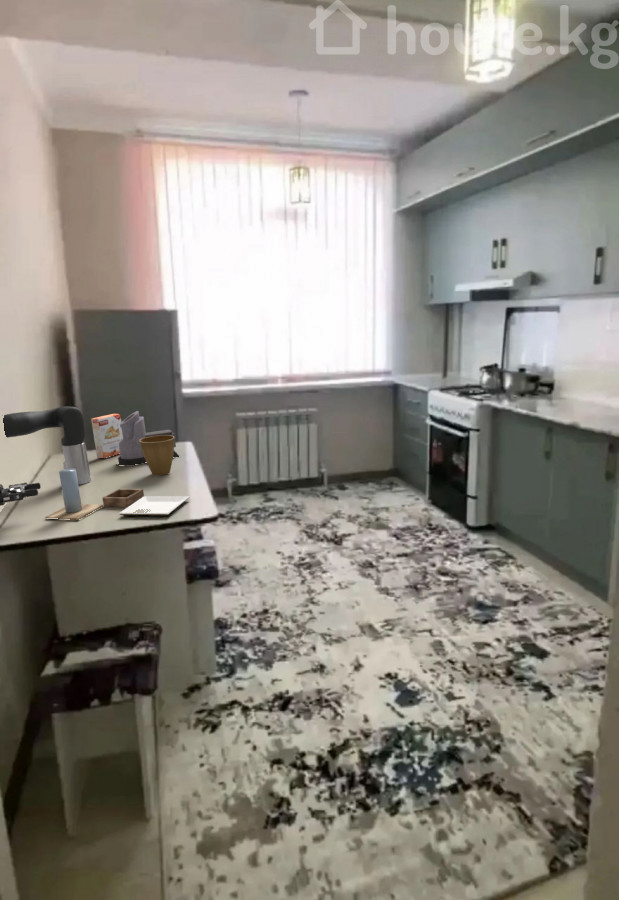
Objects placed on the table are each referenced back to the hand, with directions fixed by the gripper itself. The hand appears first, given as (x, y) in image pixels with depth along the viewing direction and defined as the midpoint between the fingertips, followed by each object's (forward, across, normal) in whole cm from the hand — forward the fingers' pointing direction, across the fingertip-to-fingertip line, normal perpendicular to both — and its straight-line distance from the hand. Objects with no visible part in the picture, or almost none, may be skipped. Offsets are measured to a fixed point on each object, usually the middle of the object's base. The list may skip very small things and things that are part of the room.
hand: (39, 488), depth 201 cm
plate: (+38, +11, -12) cm, 41 cm away
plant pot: (+44, -38, -11) cm, 60 cm away
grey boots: (+40, -70, -11) cm, 82 cm away
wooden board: (+10, 0, -11) cm, 15 cm away
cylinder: (+10, 0, -10) cm, 14 cm away
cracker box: (+24, -90, -11) cm, 94 cm away
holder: (+28, -4, -11) cm, 30 cm away
